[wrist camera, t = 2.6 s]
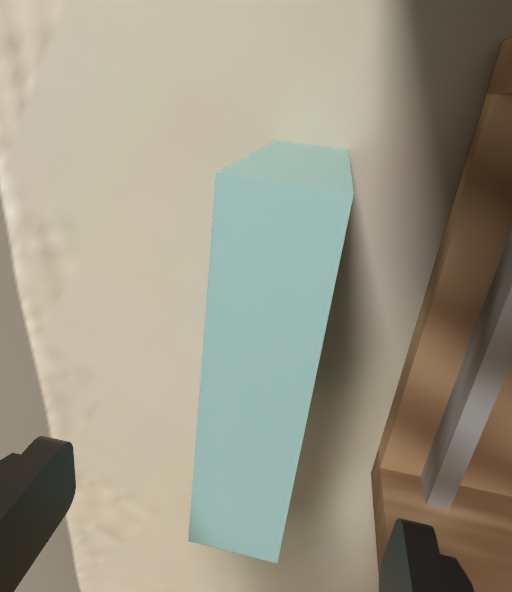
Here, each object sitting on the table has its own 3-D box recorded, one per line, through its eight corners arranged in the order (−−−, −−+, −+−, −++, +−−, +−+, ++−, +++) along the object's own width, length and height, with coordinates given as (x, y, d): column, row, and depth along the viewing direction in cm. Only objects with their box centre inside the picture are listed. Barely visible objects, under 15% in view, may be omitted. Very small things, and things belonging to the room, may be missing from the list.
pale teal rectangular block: (275, 140, 21) (216, 173, 11) (348, 150, 21) (353, 193, 11) (245, 380, 27) (188, 540, 17) (301, 391, 27) (277, 563, 17)
